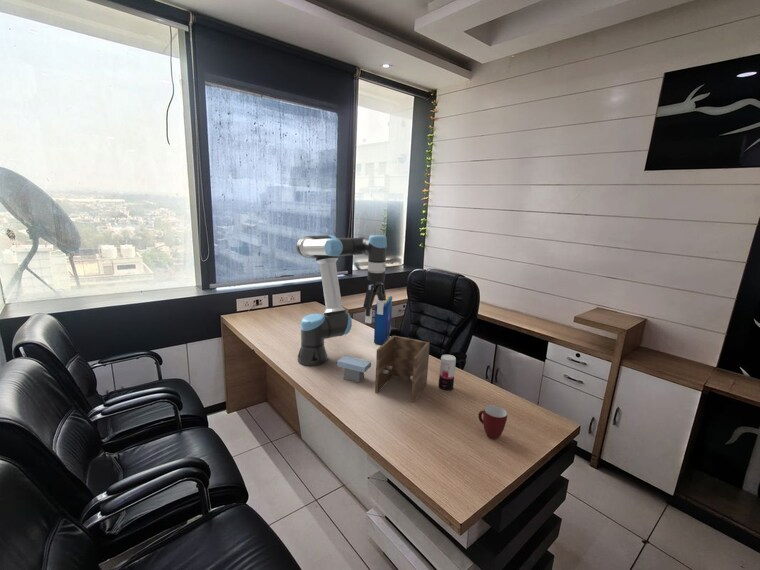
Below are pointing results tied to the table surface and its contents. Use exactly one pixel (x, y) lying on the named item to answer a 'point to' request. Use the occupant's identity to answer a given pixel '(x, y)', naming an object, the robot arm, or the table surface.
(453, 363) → the beverage can
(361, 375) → the riser block
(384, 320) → the book
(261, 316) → the table surface
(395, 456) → the table surface
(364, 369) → the shelf board
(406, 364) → the bookcase frame
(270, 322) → the table surface
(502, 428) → the mug
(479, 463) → the table surface
